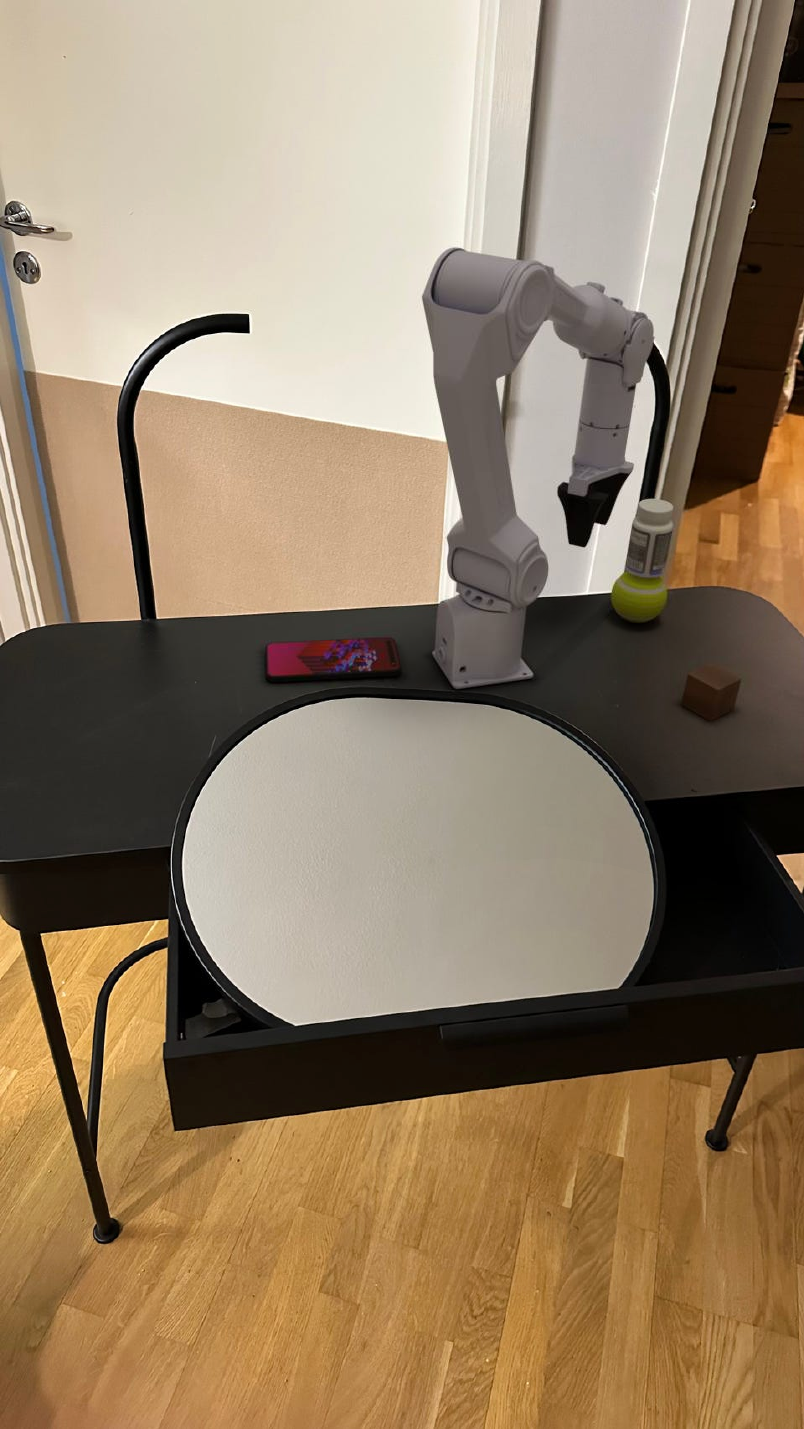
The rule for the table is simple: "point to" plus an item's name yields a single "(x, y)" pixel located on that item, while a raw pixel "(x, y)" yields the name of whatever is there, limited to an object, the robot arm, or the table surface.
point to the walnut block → (711, 691)
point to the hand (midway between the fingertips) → (588, 533)
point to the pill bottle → (650, 539)
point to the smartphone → (332, 659)
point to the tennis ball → (638, 597)
